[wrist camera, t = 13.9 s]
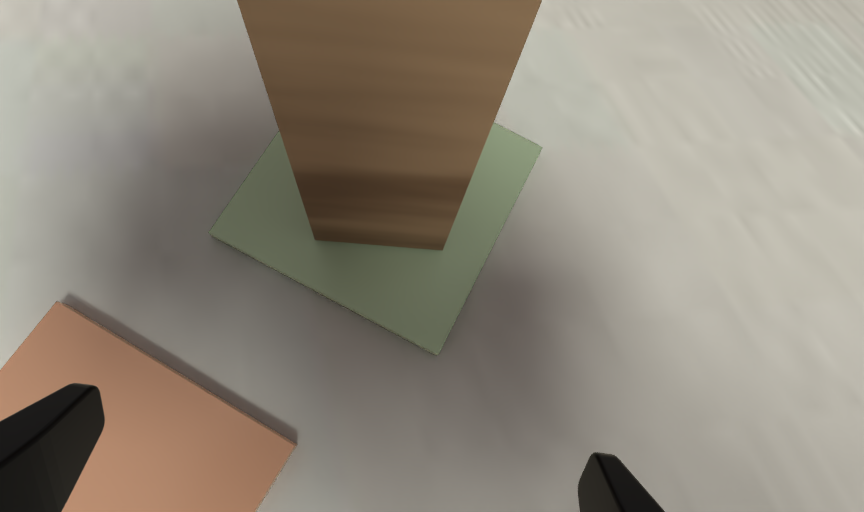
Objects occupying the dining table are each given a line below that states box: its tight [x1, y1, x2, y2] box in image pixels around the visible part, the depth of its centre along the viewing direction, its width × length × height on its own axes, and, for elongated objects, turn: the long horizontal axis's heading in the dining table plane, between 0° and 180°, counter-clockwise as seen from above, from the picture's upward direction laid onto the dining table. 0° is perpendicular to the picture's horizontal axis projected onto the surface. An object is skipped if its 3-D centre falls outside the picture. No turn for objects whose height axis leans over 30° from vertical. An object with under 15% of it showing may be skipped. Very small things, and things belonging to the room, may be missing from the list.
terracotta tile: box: [0, 302, 297, 512], centre depth 18 cm, size 10×10×1 cm
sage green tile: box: [208, 122, 542, 356], centre depth 22 cm, size 10×10×1 cm
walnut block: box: [237, 0, 542, 251], centre depth 15 cm, size 5×5×13 cm
